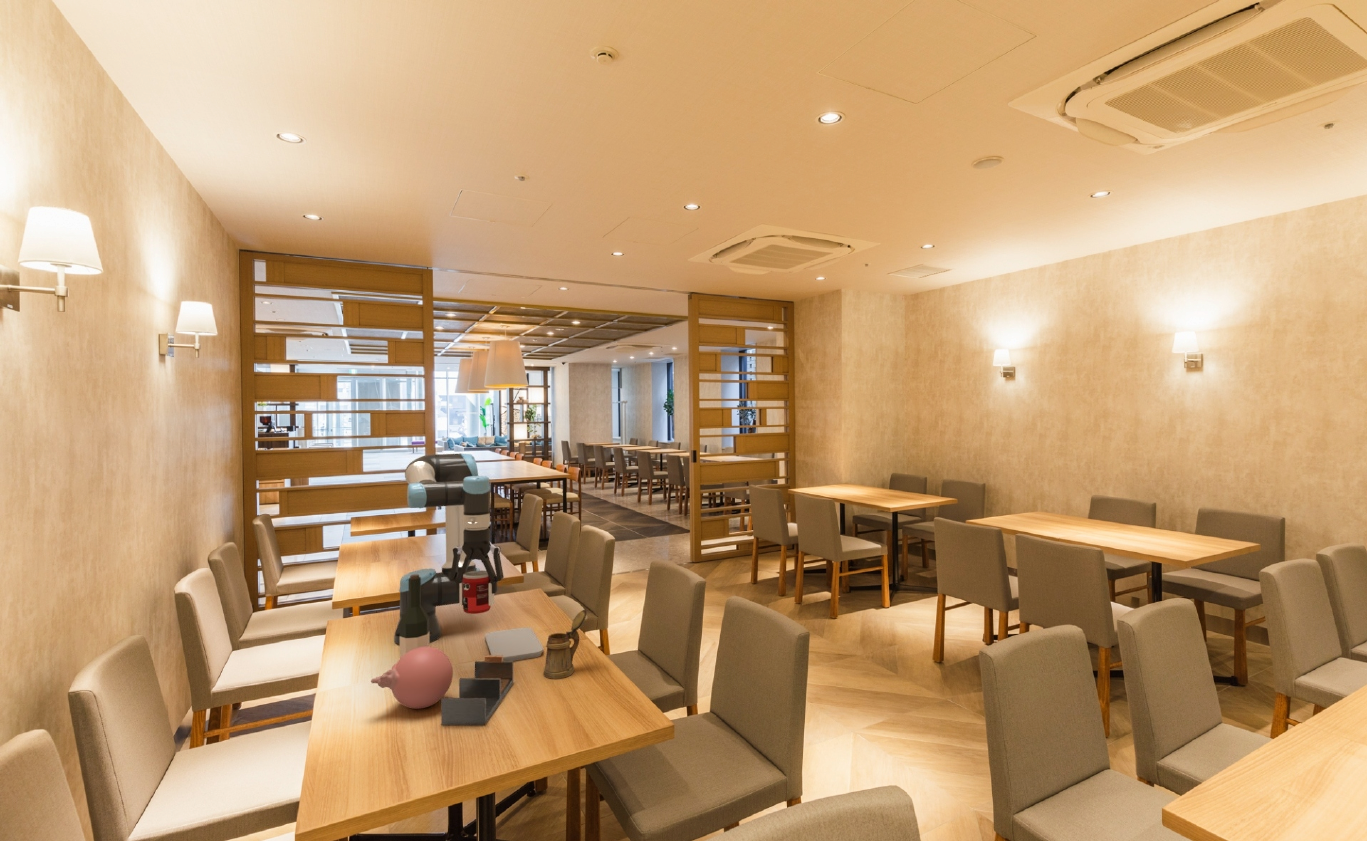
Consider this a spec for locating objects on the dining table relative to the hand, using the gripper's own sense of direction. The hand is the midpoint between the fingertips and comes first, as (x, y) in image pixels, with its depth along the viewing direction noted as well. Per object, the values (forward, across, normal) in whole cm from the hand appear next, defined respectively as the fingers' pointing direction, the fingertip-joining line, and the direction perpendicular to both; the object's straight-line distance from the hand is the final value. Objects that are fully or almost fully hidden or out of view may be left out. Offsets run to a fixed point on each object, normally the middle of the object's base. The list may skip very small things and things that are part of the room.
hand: (476, 604), depth 183 cm
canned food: (+2, 0, 0) cm, 2 cm away
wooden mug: (+22, +26, +4) cm, 34 cm away
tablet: (+22, +4, +24) cm, 33 cm away
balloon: (+22, -10, -20) cm, 31 cm away
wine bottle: (+22, -19, +1) cm, 29 cm away
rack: (+22, +7, -17) cm, 28 cm away
